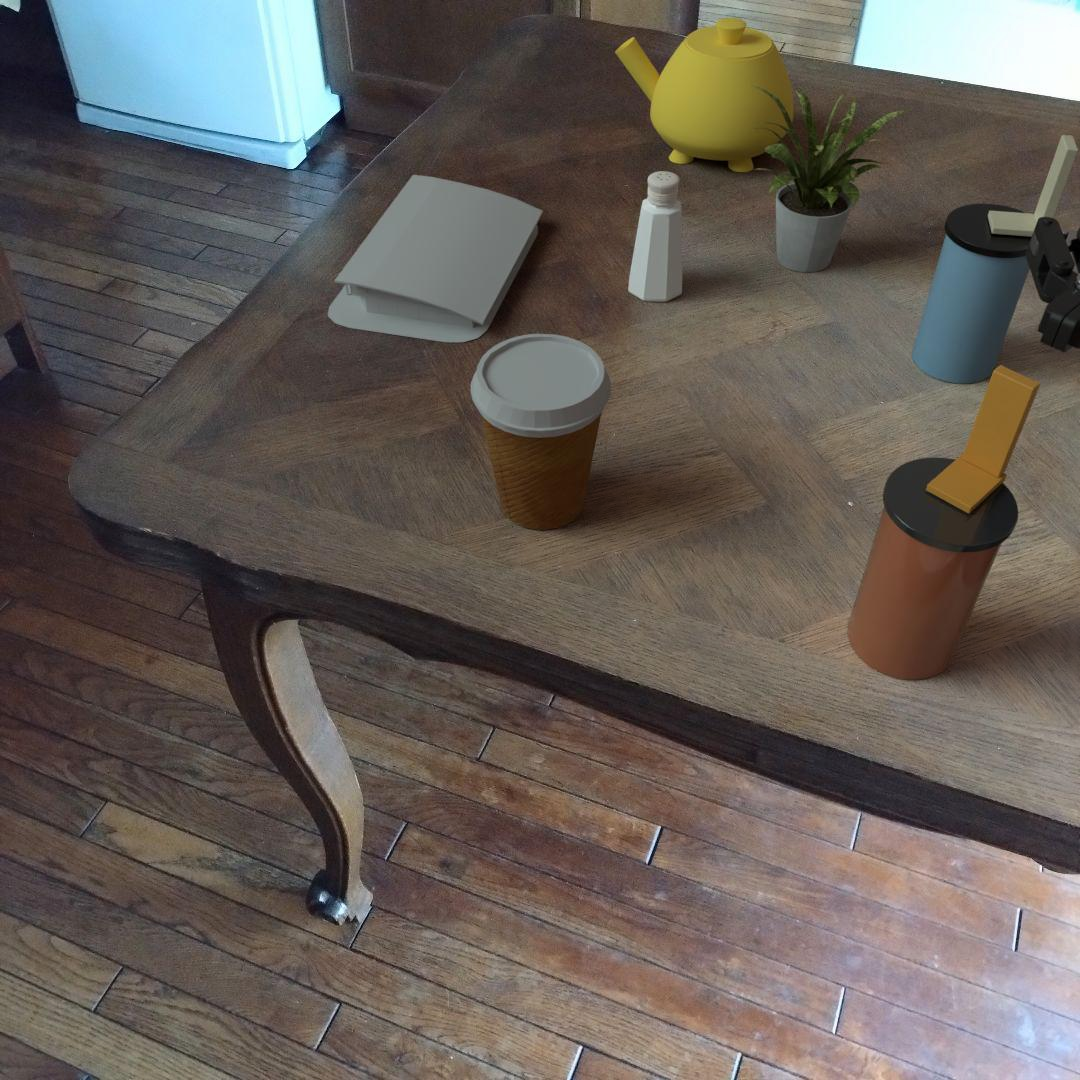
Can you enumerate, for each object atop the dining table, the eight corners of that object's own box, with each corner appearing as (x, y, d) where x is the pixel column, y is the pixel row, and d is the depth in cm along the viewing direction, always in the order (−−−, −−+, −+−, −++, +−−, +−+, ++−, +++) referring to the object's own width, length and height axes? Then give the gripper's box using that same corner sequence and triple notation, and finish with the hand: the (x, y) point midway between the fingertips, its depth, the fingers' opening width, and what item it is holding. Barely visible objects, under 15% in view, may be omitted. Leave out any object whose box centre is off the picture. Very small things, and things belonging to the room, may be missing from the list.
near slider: (962, 457, 63) (997, 362, 58) (1005, 480, 62) (1044, 384, 57) (925, 490, 61) (957, 394, 56) (968, 514, 60) (1006, 418, 55)
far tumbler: (991, 339, 93) (1038, 206, 84) (1002, 390, 88) (1053, 254, 79) (905, 331, 94) (942, 199, 85) (910, 381, 89) (951, 246, 80)
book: (317, 323, 96) (310, 285, 93) (405, 202, 112) (401, 167, 109) (479, 347, 93) (476, 309, 90) (545, 220, 109) (545, 184, 106)
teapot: (593, 164, 117) (597, 35, 108) (630, 107, 128) (636, -15, 118) (774, 190, 113) (794, 58, 103) (797, 129, 123) (817, 3, 113)
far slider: (1041, 220, 83) (1072, 133, 78) (1047, 238, 81) (1079, 151, 76) (987, 216, 83) (1014, 130, 78) (991, 233, 81) (1019, 147, 76)
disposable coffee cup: (457, 526, 78) (445, 395, 69) (509, 447, 84) (503, 318, 75) (579, 560, 75) (582, 429, 66) (623, 476, 81) (631, 346, 73)
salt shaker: (640, 266, 102) (648, 157, 94) (693, 280, 100) (704, 170, 93) (616, 294, 99) (622, 183, 91) (670, 309, 97) (680, 197, 89)
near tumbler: (883, 580, 73) (929, 439, 64) (980, 639, 70) (1043, 498, 61) (820, 638, 70) (859, 497, 61) (918, 703, 66) (976, 565, 57)
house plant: (690, 267, 102) (707, 98, 90) (754, 208, 110) (777, 45, 98) (828, 313, 96) (866, 139, 85) (885, 247, 104) (927, 79, 93)
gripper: (1111, 131, 68) (968, 229, 59) (1333, 203, 61) (1207, 325, 53) (1070, 237, 73) (934, 340, 65) (1270, 314, 66) (1147, 441, 58)
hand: (1057, 334), depth 59 cm, fingers closed
